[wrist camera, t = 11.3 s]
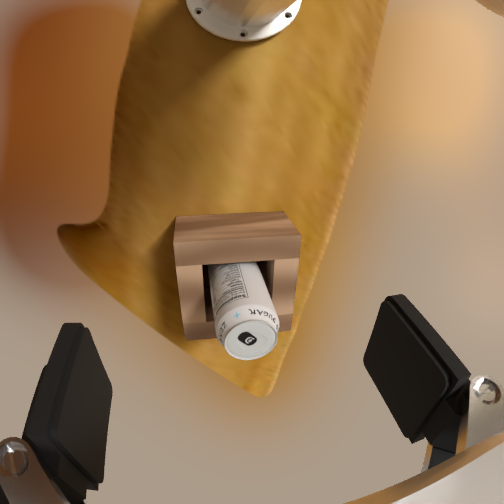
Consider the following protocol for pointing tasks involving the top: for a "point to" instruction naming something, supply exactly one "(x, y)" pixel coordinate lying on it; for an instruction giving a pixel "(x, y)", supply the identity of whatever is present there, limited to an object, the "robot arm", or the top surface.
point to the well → (234, 261)
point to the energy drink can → (242, 310)
